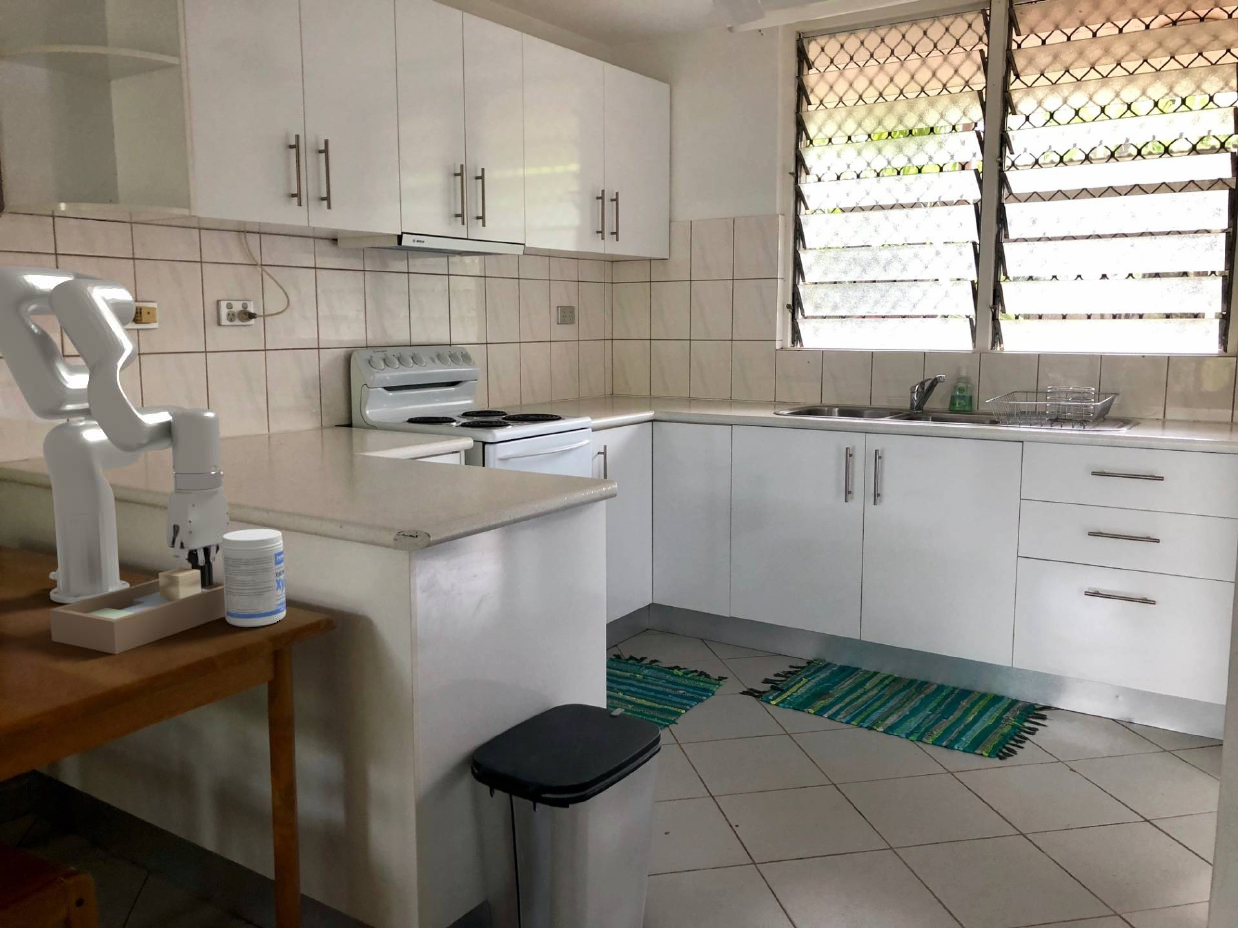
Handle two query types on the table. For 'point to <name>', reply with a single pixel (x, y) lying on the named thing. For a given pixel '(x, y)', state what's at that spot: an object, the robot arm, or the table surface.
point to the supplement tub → (253, 577)
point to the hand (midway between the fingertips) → (202, 585)
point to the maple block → (179, 583)
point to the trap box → (132, 617)
